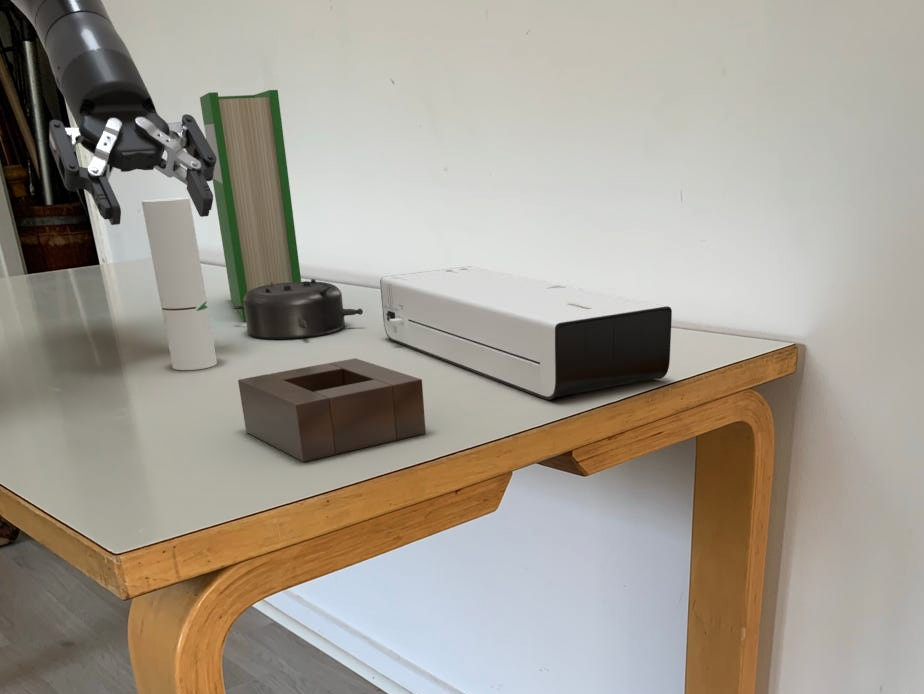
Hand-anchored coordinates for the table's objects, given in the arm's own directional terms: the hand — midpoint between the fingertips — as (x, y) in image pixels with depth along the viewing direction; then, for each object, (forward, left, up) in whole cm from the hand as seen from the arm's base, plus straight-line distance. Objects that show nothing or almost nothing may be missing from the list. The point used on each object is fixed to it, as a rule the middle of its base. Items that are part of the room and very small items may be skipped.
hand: (162, 214), depth 92 cm
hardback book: (+5, +31, -14) cm, 35 cm away
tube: (+1, -1, -14) cm, 14 cm away
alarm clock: (+15, +10, -11) cm, 21 cm away
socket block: (+15, -29, -14) cm, 35 cm away
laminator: (+31, -8, -14) cm, 35 cm away
